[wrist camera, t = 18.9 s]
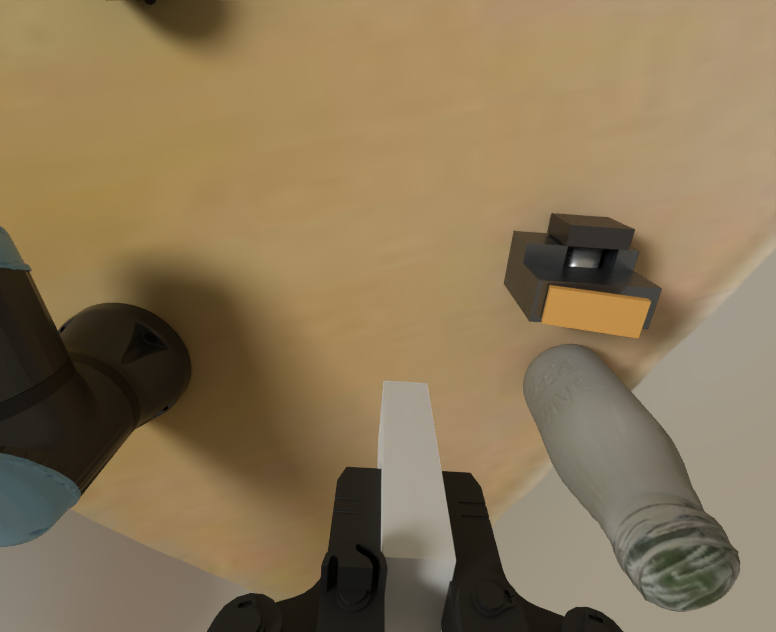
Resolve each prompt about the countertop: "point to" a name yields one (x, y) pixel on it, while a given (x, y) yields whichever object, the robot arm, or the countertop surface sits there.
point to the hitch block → (569, 274)
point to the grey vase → (629, 479)
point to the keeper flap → (595, 311)
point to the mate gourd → (150, 2)
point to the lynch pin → (588, 237)
